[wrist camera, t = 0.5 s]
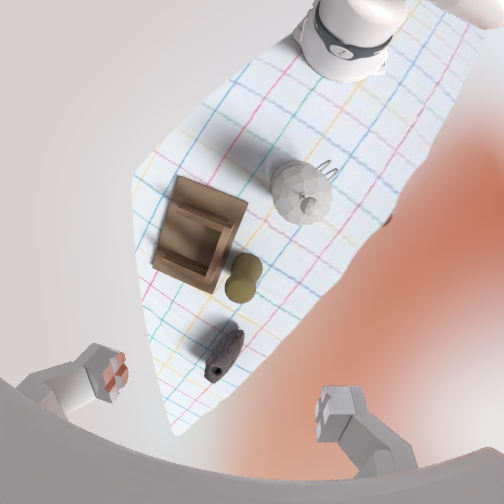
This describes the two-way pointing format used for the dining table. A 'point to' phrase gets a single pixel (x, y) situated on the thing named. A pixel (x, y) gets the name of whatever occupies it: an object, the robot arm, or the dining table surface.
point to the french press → (302, 192)
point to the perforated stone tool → (224, 356)
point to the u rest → (198, 234)
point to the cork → (243, 278)
